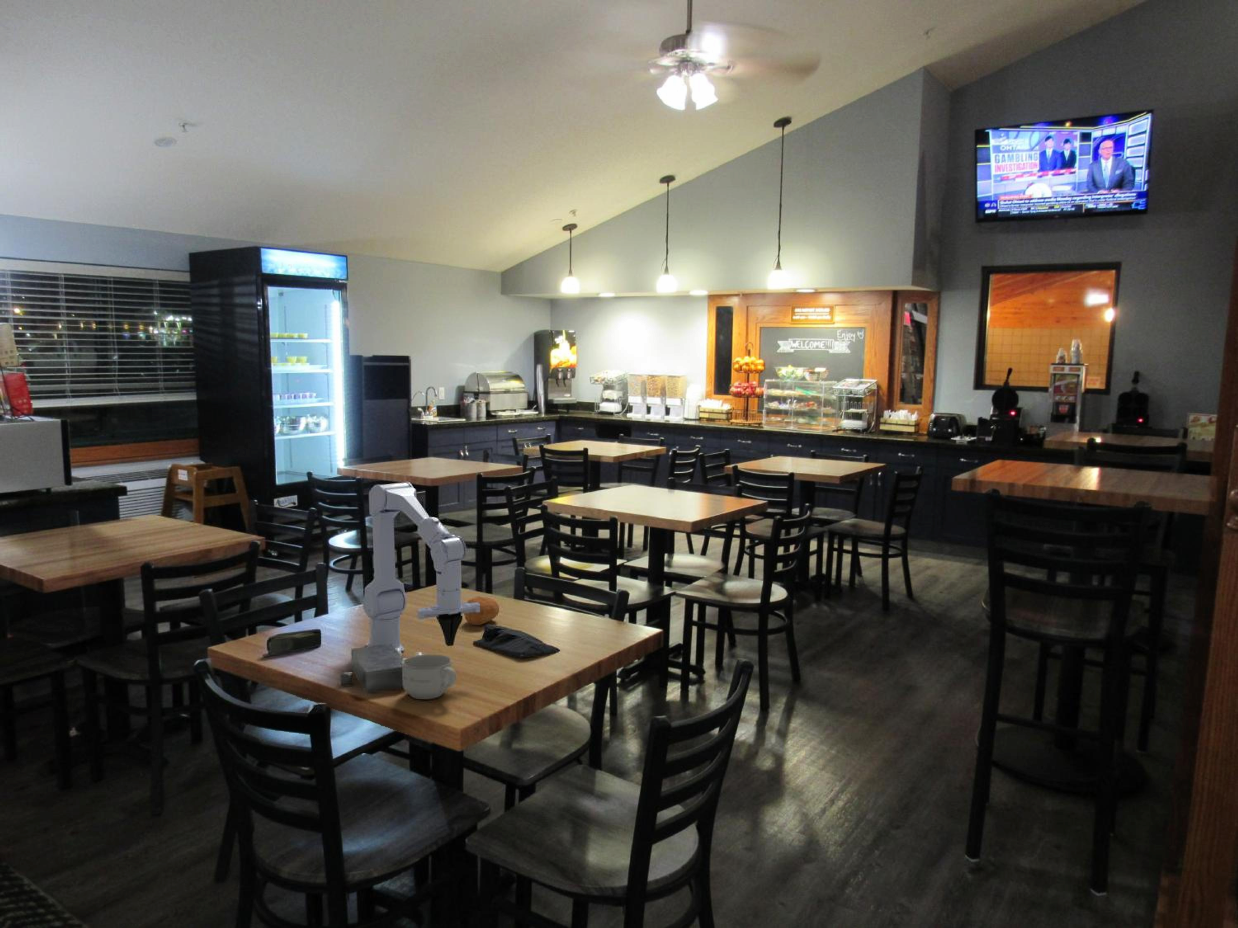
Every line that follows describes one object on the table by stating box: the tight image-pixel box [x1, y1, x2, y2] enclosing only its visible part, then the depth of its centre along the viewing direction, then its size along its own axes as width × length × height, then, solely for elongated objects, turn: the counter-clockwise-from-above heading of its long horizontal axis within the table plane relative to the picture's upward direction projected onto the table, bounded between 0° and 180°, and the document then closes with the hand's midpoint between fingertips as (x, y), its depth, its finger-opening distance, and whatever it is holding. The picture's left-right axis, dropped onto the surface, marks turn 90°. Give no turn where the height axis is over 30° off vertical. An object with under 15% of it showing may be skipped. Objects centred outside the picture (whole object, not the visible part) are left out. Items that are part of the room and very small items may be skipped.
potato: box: [463, 595, 500, 626], centre depth 244 cm, size 9×11×8 cm
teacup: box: [402, 654, 457, 700], centre depth 187 cm, size 14×11×8 cm
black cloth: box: [473, 624, 561, 659], centre depth 222 cm, size 15×22×5 cm
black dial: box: [339, 671, 354, 687], centre depth 194 cm, size 3×3×3 cm
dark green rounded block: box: [262, 628, 322, 658], centre depth 217 cm, size 5×3×15 cm
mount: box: [350, 644, 404, 694], centre depth 199 cm, size 18×10×5 cm, turn 27°
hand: (449, 644), depth 200 cm, fingers closed
